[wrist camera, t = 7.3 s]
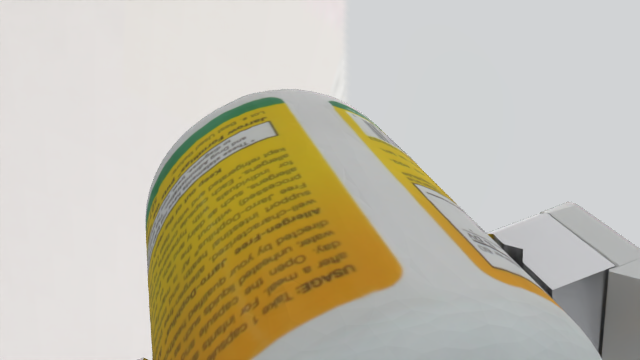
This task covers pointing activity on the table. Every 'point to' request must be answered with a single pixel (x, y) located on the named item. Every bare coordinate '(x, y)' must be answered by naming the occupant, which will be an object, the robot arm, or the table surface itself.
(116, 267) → the table surface
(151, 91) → the table surface
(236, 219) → the supplement bottle
